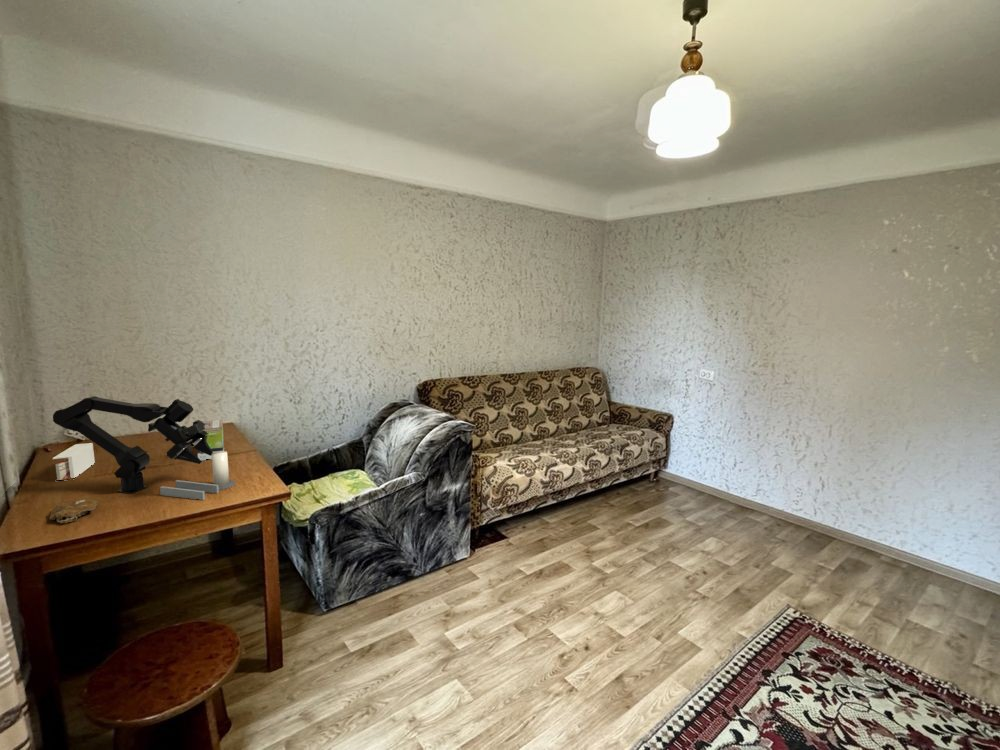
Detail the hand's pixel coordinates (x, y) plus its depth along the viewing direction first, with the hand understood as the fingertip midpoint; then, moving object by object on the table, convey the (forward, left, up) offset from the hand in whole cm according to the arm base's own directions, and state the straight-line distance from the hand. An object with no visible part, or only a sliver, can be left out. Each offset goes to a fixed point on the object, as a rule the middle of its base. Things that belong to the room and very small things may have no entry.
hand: (206, 458), depth 166 cm
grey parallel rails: (-1, -7, -11) cm, 13 cm away
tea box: (-29, +31, -11) cm, 43 cm away
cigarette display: (-62, -1, -11) cm, 63 cm away
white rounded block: (+4, +2, -10) cm, 11 cm away
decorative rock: (-22, -30, -11) cm, 38 cm away
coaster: (+4, +2, -11) cm, 12 cm away
